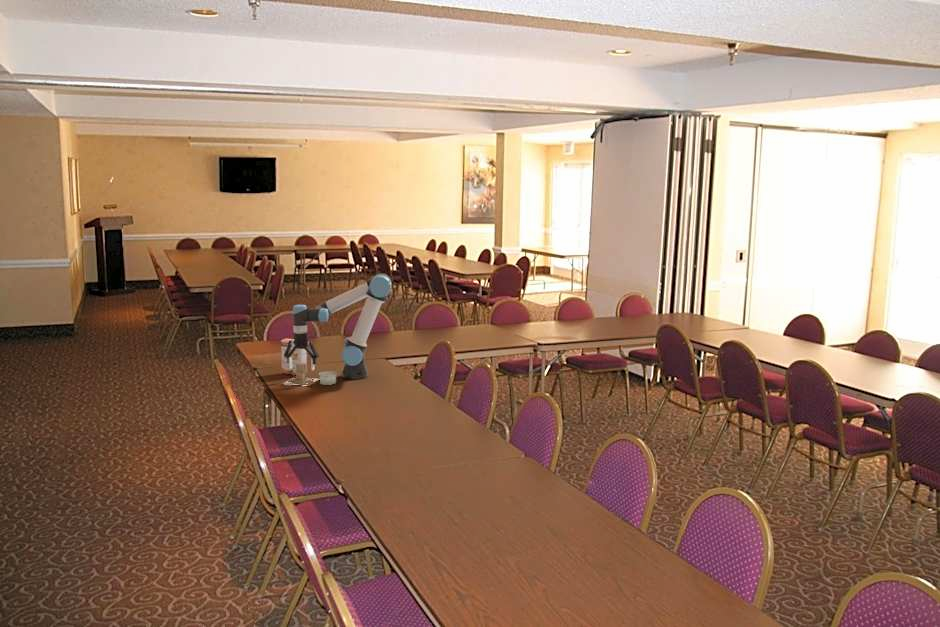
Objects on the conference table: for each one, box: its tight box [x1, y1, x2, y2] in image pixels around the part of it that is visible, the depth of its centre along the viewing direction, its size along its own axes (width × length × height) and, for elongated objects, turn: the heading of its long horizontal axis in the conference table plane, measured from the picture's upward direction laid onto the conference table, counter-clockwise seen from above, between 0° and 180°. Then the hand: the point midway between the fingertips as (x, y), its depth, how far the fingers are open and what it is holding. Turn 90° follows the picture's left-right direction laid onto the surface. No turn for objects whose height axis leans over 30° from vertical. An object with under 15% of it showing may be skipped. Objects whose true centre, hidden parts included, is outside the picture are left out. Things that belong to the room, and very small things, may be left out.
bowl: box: [318, 370, 338, 386], centre depth 436 cm, size 10×10×6 cm
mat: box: [282, 378, 320, 387], centre depth 440 cm, size 16×16×1 cm
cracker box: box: [280, 338, 308, 376], centre depth 456 cm, size 14×6×21 cm, turn 68°
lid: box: [291, 363, 313, 384], centre depth 439 cm, size 11×11×10 cm
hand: (301, 369), depth 439 cm, fingers open, 13 cm apart
